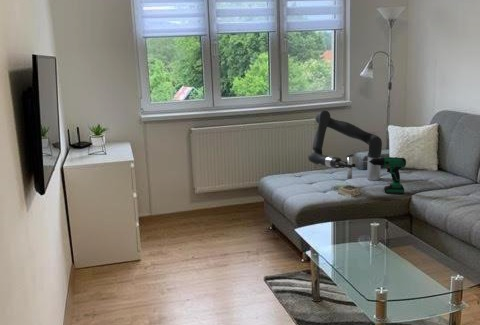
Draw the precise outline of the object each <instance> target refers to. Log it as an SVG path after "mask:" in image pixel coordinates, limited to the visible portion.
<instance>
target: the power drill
mask: <svg viewBox="0 0 480 325" xmlns="http://www.w3.org/2000/svg"><path fill="white" fill-rule="evenodd" d="M406 159H407V158H405V157H398V156H395V157H394V156H393V157H391V156H389V157H388V156H384V157H381V158H373V159H372V160H371V161H368V160H366V161H365V160H363V161H361V162H363V163H368V162H371V164H373V165H380V166H381V167H382V166H383V168H384V169H387V170H386V172H387V173H388V174H390V175H391V180H392V182H390V183H389V185H385V186H384V188H383V192H384V193H385V194H401V195H403V194H405V188H404V185H403V184H402V183H401V174H400V169H404V168H406V165H407V160H406Z"/></svg>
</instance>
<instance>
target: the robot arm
mask: <svg viewBox="0 0 480 325" xmlns="http://www.w3.org/2000/svg"><path fill="white" fill-rule="evenodd" d="M315 121H316V123H317V124H318V126H317V130H316V133H315V135H314V138H313V144H312V150H313V151H314V152H311V153H310V154H309V155H308V157H307V158H308V161H309V162H310V163H313V164H314V165H322V166H325V167H329V168H333V169H346V168H352V169H353V168H356V163H353V162H352V165H349V164H347V163H348V159H347V160H342V159H341V158H340V157H337V156H331V155H325V154H324V155H323V147H324V140H325V136H326V132H327V129H328V128H330V129H332V130H334V131H336V132H338V133H340V134H342V135H345V136H346V137H349V138H352V139H356V140H359V141H361V142H363V143H365V144H366V145H368V153H367V161H371V160H372V159H373V158H382V157H381V156H382V150H383V149H382V147H383V141H382V138H381V137H380V136H378V135H377V134H375V133H374V134H373V133H370V132H368V131H365V130H363V129H362V128H360V127H358V126H356V125H355V124H352V123H351V122H347V121H343V120H340V119H339V120H338V119H334V118H332V117H331V113H330V112H329V111H328V110H325V109H324V110H321V111H319V112H318V114H316V115H315ZM381 167H382V165H373V164H371V162H367V171H366V172H367V173H366V176H367V177H366V179H367V180H368V179H369V180H368V181H373V180H375V181H379V180H381V172H382V170H381V169H382V168H381Z"/></svg>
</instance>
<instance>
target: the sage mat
mask: <svg viewBox="0 0 480 325" xmlns="http://www.w3.org/2000/svg"><path fill="white" fill-rule="evenodd" d="M346 185H351V186H354V184H353V185H352V184H348V183H343V182H341V183H338V184H334V185H332V186H331V188H336V189H338V188H340V187H343V186H346Z"/></svg>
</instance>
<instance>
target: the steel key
mask: <svg viewBox="0 0 480 325" xmlns="http://www.w3.org/2000/svg"><path fill="white" fill-rule="evenodd" d="M354 156H355V155H354V153H352V154H348V155H346V158H347V160H348V163H347V164H349V165H352V163H353V157H354ZM346 170H347V171H346V172H347V175H346V178H347V179H348V180H352V179H353V167H352V168H347V169H346Z"/></svg>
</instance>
